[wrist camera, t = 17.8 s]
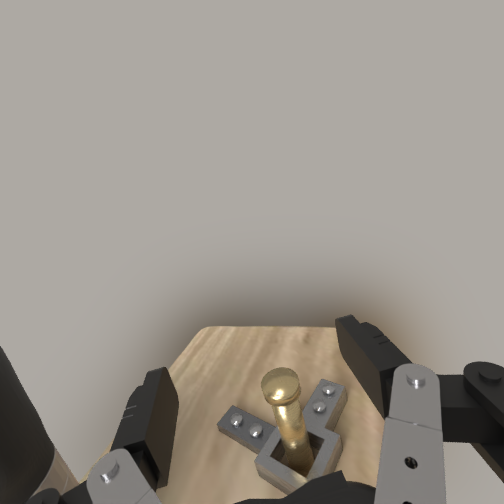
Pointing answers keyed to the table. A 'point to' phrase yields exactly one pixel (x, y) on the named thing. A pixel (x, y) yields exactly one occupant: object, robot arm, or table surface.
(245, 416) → the bolted corner bracket
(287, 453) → the brass pin
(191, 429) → the table surface
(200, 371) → the table surface
